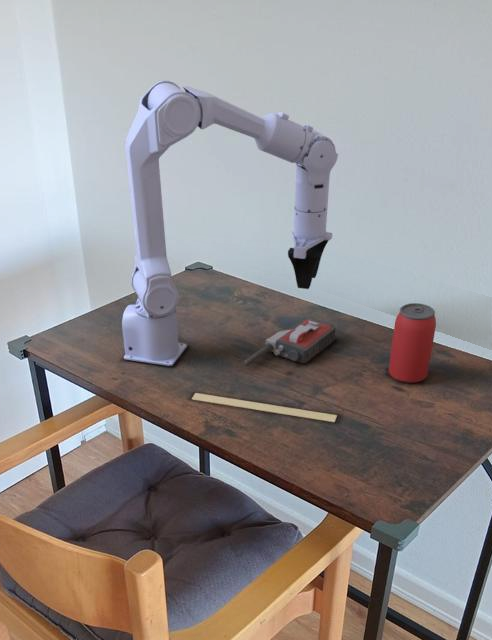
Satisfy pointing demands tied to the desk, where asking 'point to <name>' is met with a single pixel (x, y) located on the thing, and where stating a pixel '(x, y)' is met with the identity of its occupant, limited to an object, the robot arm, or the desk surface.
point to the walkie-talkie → (298, 341)
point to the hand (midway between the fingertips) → (306, 282)
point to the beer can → (412, 343)
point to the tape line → (265, 407)
